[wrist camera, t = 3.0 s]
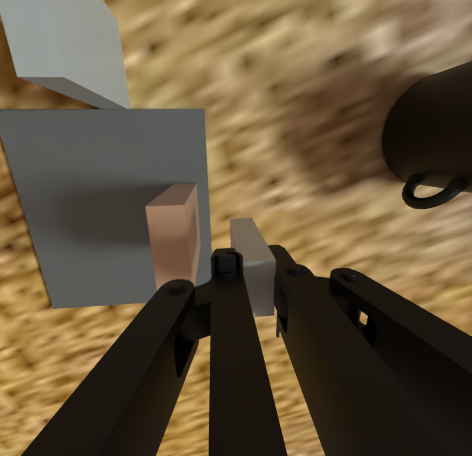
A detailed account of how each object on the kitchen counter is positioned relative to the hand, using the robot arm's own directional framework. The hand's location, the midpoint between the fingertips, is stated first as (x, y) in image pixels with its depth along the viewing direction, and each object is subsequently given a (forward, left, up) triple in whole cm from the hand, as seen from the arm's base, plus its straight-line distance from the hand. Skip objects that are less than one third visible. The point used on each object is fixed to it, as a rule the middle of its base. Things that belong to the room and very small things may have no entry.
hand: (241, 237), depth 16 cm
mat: (0, -10, -7) cm, 12 cm away
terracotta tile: (0, -4, -6) cm, 8 cm away
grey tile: (-12, -9, -7) cm, 17 cm away
